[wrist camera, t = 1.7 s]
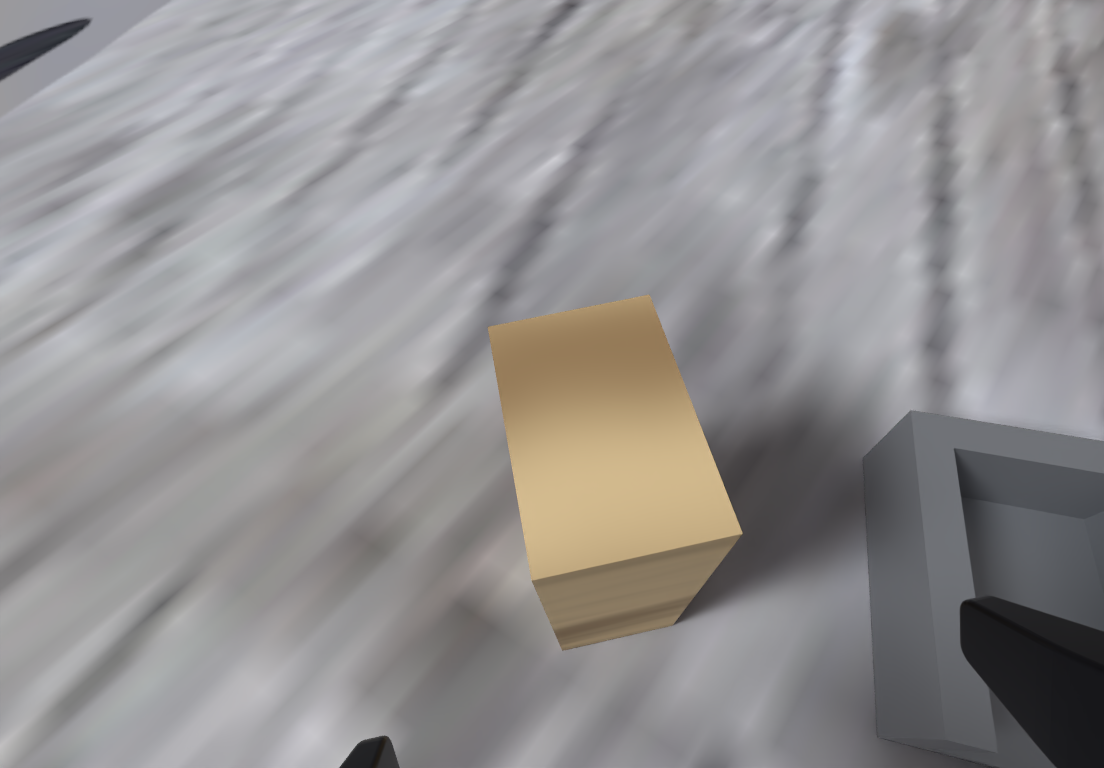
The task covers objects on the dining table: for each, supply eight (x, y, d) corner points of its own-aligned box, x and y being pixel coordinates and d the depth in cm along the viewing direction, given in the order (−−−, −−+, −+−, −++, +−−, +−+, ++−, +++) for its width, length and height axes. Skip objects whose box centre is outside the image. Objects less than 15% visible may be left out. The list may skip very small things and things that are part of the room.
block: (672, 625, 20) (743, 533, 10) (562, 650, 19) (531, 580, 10) (627, 471, 23) (649, 294, 13) (532, 492, 23) (487, 326, 13)
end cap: (1189, 819, 16) (1350, 844, 13) (877, 737, 17) (945, 739, 14) (1100, 500, 21) (1199, 456, 17) (862, 458, 22) (910, 410, 19)
